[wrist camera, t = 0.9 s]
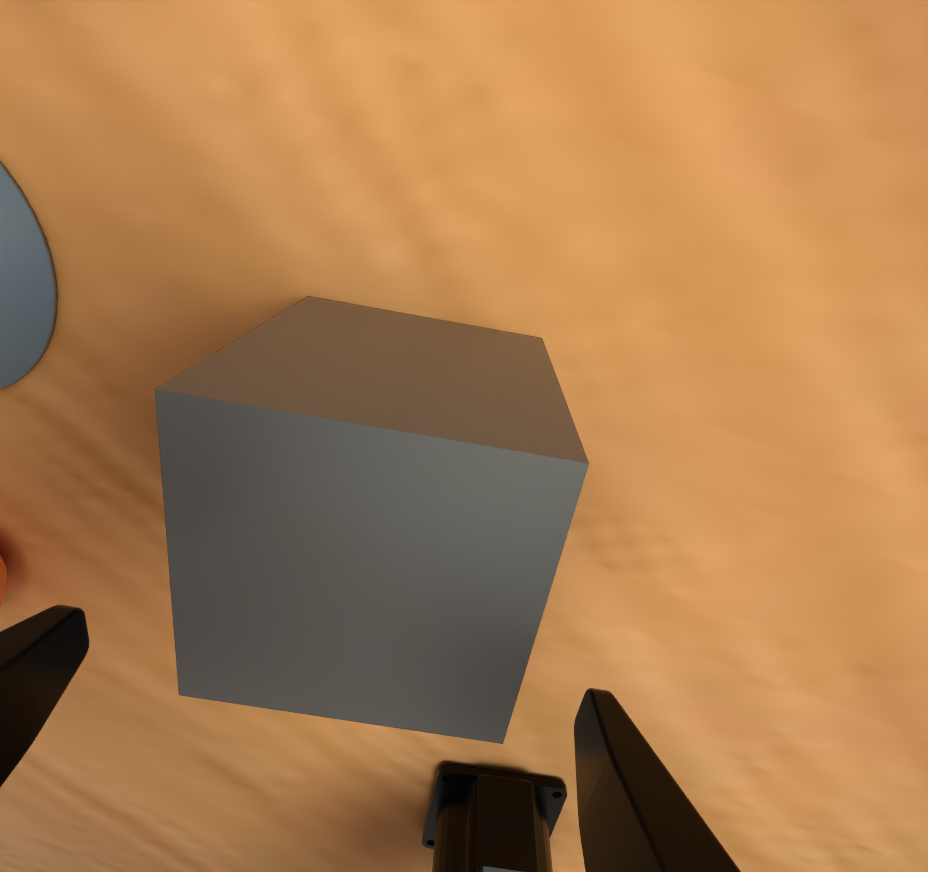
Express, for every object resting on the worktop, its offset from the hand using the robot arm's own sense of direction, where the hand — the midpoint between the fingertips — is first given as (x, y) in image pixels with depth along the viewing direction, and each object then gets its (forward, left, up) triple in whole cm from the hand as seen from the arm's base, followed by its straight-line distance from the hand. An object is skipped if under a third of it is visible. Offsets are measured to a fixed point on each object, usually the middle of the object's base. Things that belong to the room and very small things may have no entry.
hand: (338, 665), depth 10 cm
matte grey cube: (0, 0, -11) cm, 11 cm away
